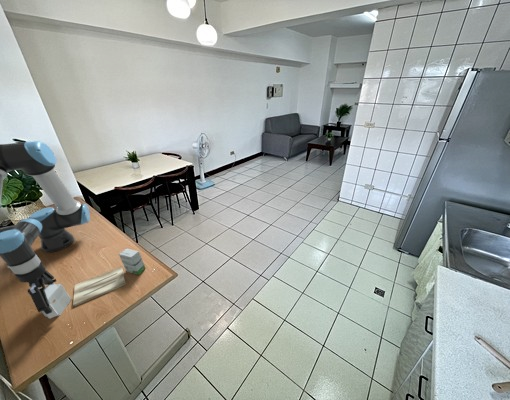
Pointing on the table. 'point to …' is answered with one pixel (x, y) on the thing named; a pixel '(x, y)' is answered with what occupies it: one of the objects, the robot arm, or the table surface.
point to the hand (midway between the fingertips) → (55, 305)
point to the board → (98, 286)
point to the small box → (57, 297)
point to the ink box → (132, 261)
